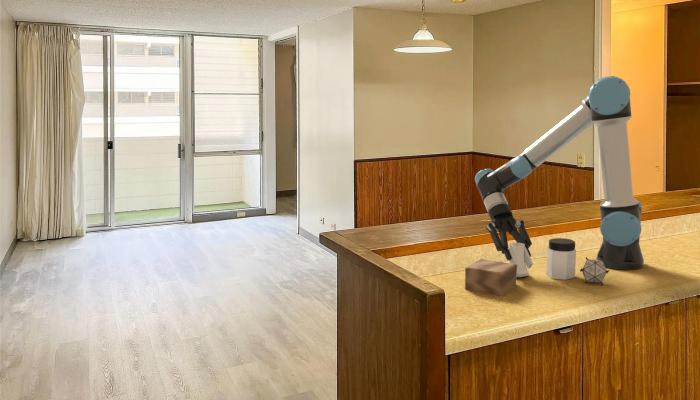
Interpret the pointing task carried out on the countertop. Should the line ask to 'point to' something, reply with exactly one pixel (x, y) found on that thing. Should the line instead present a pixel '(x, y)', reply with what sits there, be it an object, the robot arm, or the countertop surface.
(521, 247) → the salt shaker
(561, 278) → the jar
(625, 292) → the countertop surface
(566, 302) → the countertop surface
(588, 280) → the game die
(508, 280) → the walnut box
